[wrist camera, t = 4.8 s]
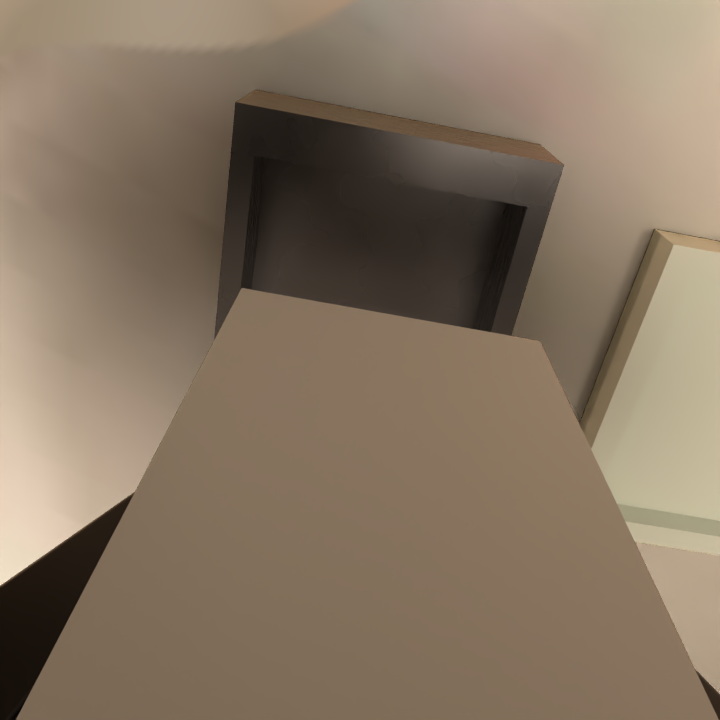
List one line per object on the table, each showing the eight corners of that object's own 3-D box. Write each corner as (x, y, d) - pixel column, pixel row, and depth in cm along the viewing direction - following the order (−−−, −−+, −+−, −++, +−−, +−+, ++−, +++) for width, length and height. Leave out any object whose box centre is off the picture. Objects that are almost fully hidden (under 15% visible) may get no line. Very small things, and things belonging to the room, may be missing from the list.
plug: (465, 563, 12) (593, 1429, 5) (217, 523, 12) (-62, 1368, 5) (539, 341, 10) (966, 1241, 3) (241, 287, 10) (-190, 1112, 2)
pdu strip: (393, 647, 25) (397, 852, 19) (202, 618, 24) (142, 818, 18) (539, 144, 17) (628, 220, 11) (255, 89, 16) (180, 136, 10)
